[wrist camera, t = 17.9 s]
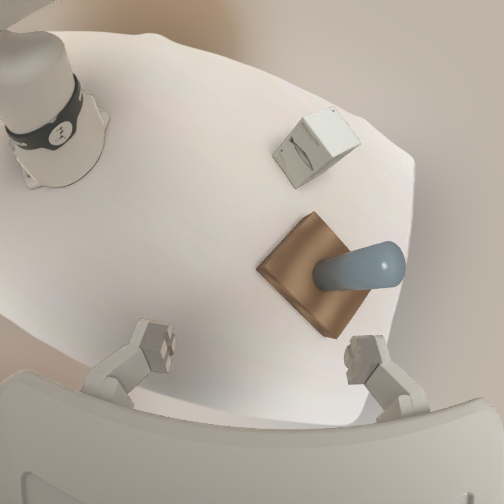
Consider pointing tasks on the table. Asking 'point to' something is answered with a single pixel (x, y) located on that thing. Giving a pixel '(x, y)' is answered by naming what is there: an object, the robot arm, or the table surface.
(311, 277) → the plate
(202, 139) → the table surface
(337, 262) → the slate cylinder
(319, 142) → the supplement box
